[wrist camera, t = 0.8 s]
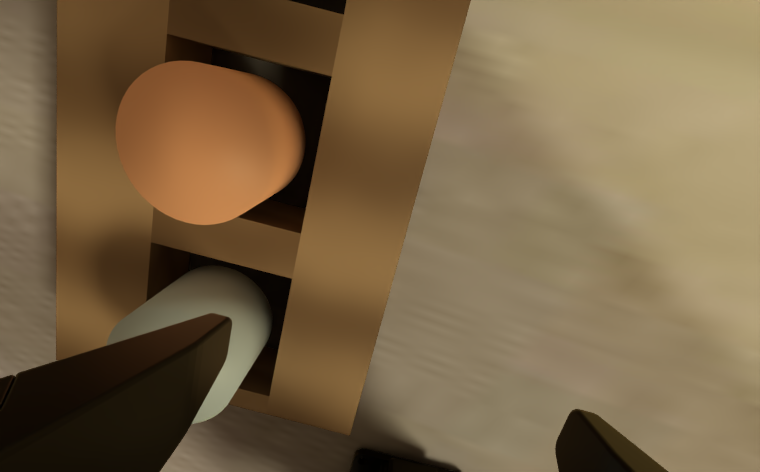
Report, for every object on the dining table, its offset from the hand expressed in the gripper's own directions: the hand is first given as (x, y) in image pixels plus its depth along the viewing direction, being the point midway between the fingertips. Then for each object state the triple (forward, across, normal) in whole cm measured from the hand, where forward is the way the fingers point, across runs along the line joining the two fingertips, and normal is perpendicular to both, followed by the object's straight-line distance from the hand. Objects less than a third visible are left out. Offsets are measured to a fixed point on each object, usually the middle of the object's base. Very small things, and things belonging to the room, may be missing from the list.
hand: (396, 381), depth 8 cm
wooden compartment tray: (+12, +7, -2) cm, 14 cm away
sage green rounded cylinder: (+9, +7, +6) cm, 13 cm away
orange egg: (+9, +7, -2) cm, 12 cm away
